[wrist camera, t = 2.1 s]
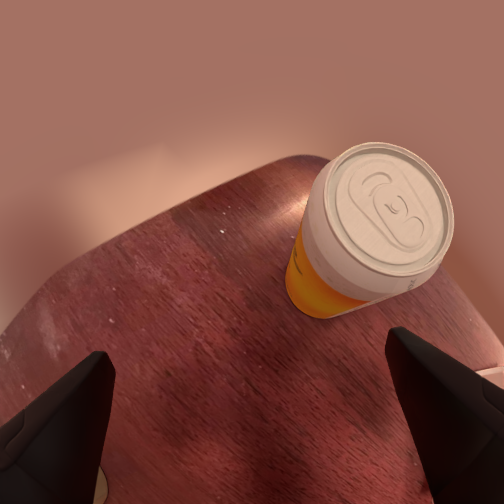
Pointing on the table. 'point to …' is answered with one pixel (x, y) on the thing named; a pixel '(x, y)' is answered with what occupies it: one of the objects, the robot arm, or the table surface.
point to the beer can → (368, 231)
